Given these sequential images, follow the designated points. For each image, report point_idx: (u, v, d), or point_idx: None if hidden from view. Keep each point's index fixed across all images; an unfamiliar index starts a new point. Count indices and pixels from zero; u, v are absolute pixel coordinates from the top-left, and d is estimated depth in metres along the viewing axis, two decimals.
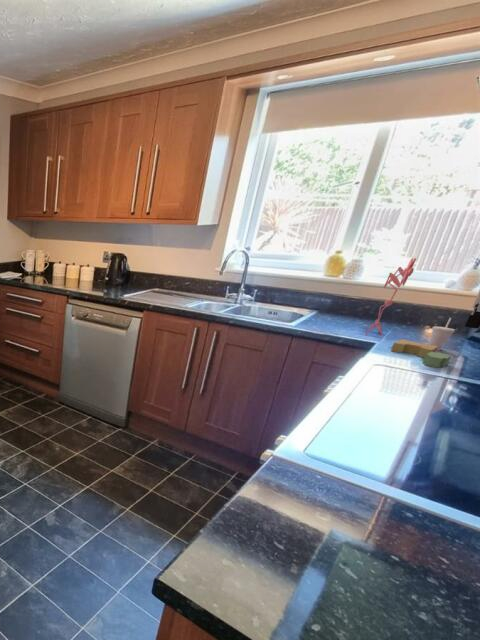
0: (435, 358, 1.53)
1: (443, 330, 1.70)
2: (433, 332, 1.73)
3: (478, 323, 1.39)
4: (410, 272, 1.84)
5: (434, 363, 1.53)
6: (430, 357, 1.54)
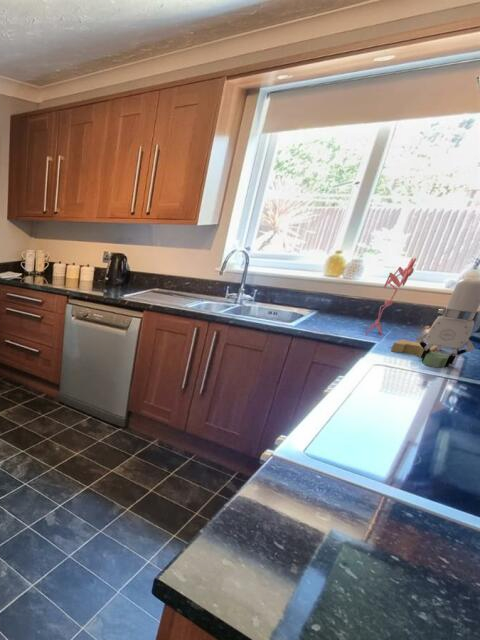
0: (435, 358, 1.53)
1: None
2: None
3: (423, 356, 1.59)
4: (410, 272, 1.84)
5: (434, 363, 1.53)
6: (430, 357, 1.54)
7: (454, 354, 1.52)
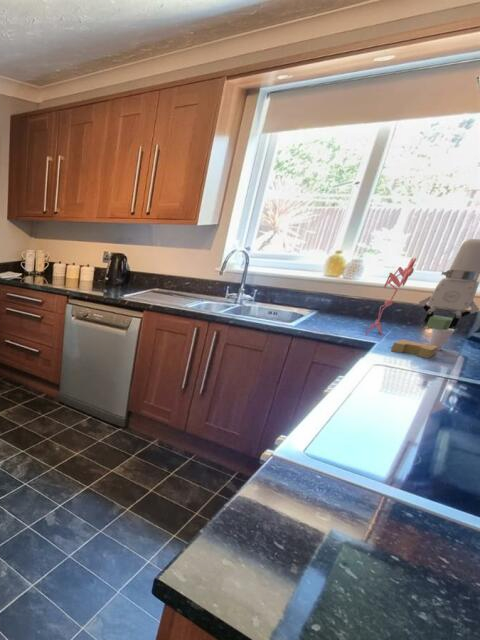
0: (439, 320, 1.51)
1: (443, 330, 1.70)
2: (433, 332, 1.73)
3: (427, 319, 1.57)
4: (410, 272, 1.84)
5: (437, 326, 1.52)
6: (434, 319, 1.52)
7: (458, 316, 1.51)
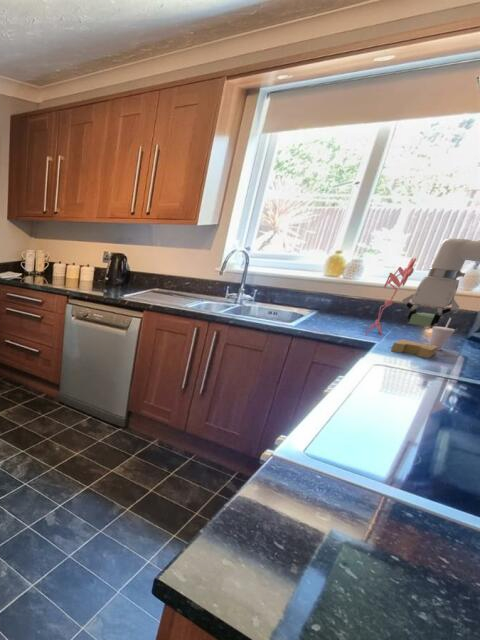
0: None
1: (443, 330, 1.70)
2: (433, 332, 1.73)
3: None
4: (410, 272, 1.84)
5: None
6: None
7: None
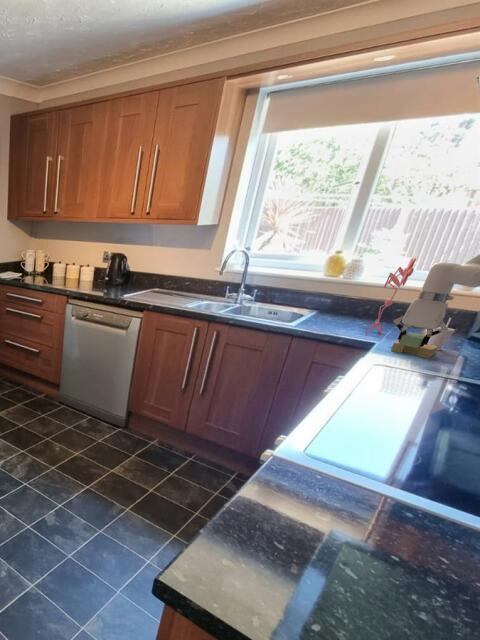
0: None
1: None
2: None
3: None
4: (410, 272, 1.84)
5: None
6: None
7: None
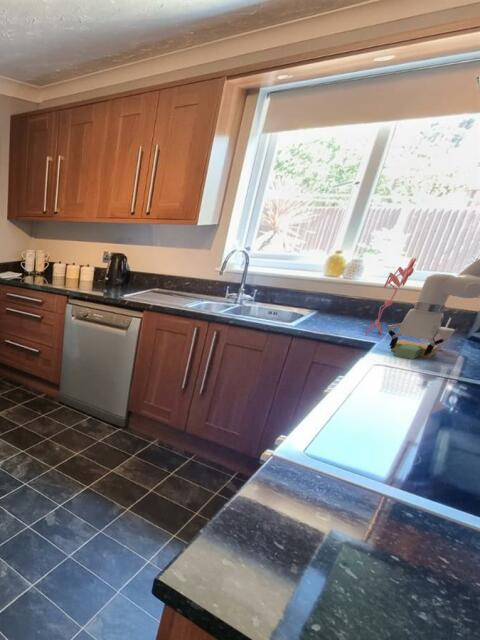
0: None
1: (443, 330, 1.70)
2: None
3: None
4: (410, 272, 1.84)
5: None
6: None
7: None
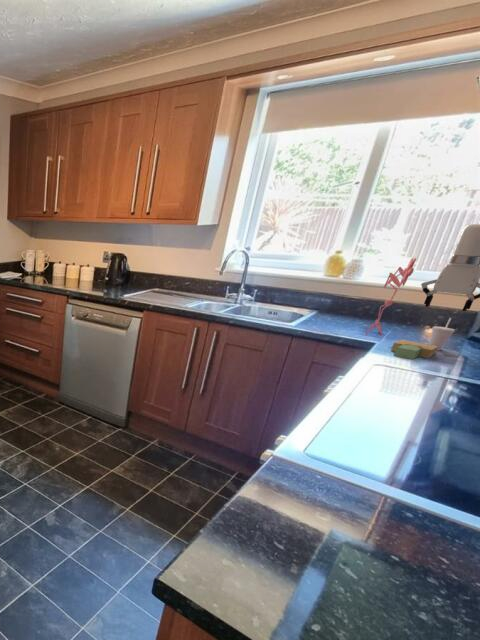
0: None
1: (443, 330, 1.70)
2: (433, 332, 1.73)
3: None
4: (410, 272, 1.84)
5: None
6: None
7: None
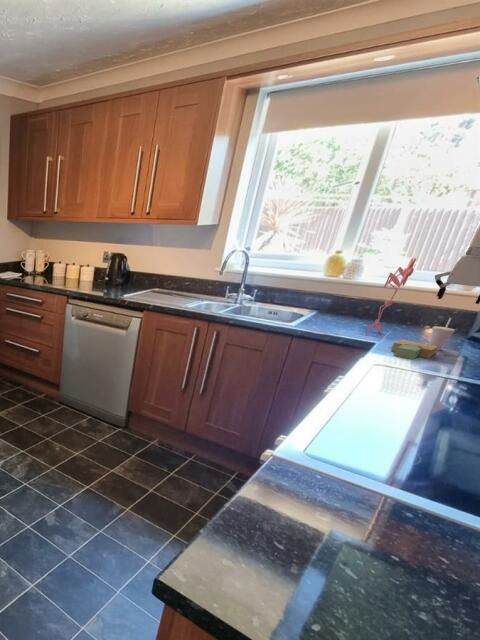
0: None
1: (443, 330, 1.70)
2: (433, 332, 1.73)
3: None
4: (410, 272, 1.84)
5: None
6: None
7: None
